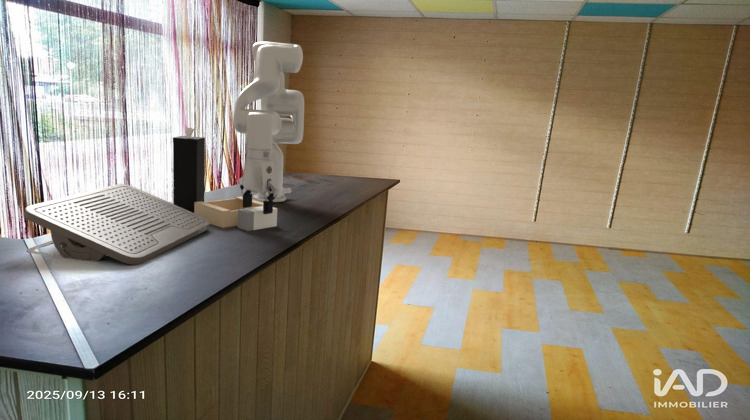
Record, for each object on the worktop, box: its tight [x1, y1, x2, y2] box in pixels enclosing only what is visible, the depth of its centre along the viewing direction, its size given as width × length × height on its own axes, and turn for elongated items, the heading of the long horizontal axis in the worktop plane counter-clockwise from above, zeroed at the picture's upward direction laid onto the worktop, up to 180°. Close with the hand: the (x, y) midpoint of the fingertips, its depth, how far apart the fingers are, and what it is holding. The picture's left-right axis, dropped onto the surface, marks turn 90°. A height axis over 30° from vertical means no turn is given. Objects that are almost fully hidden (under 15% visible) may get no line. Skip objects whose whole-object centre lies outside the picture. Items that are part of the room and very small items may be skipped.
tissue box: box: [172, 126, 206, 213], centre depth 179 cm, size 8×8×28 cm
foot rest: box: [23, 183, 211, 266], centre depth 140 cm, size 39×30×13 cm
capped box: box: [237, 206, 278, 232], centre depth 164 cm, size 11×5×6 cm, turn 141°
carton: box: [194, 195, 263, 229], centre depth 171 cm, size 18×15×6 cm
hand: (257, 210), depth 163 cm, fingers open, 9 cm apart
